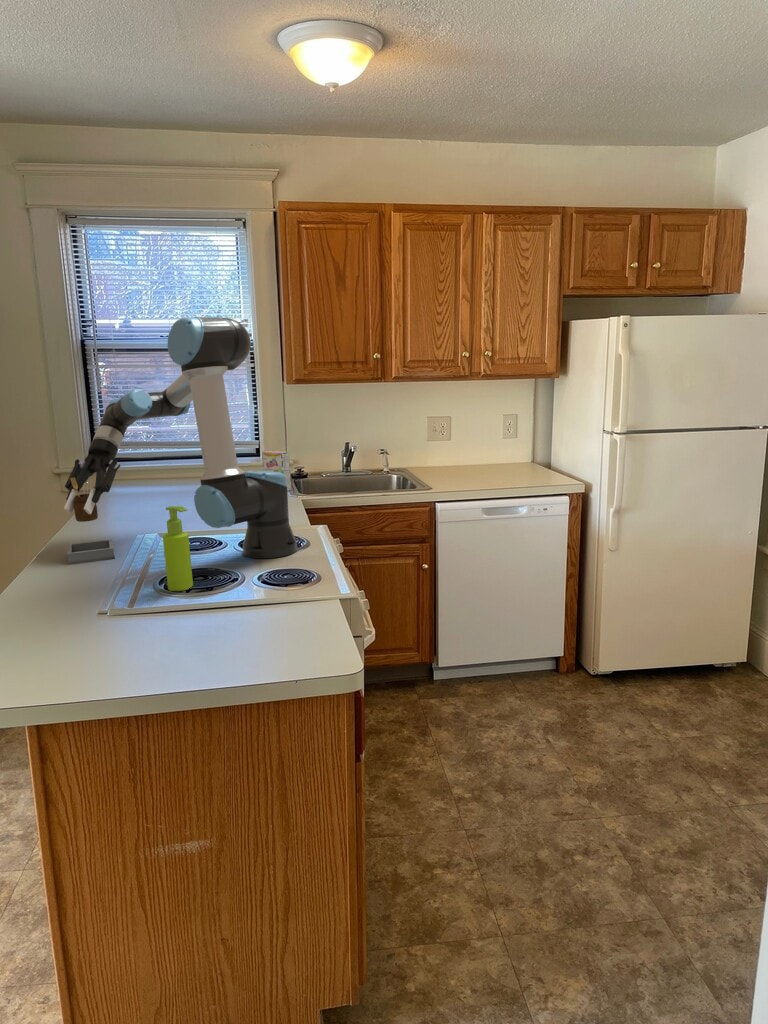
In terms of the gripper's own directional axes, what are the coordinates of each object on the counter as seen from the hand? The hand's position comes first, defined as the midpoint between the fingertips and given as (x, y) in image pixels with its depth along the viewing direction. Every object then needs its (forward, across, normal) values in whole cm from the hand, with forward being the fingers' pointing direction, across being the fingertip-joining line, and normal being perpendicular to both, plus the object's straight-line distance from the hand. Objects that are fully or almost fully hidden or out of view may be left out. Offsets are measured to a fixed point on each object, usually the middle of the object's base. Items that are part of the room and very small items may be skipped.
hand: (77, 511), depth 196 cm
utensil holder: (0, 0, -5) cm, 5 cm away
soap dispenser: (+24, -41, +4) cm, 48 cm away
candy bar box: (-65, -18, -86) cm, 109 cm away
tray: (+7, 0, -12) cm, 14 cm away
